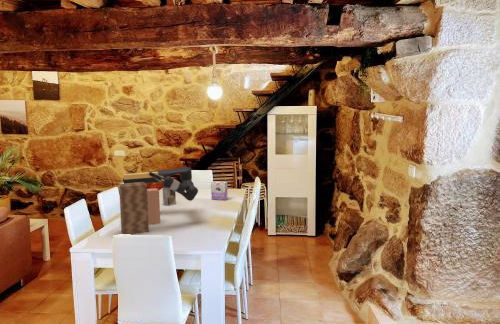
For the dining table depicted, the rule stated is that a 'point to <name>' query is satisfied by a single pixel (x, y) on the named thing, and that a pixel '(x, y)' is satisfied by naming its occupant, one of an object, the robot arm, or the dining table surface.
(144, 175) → the dowel
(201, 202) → the dining table surface
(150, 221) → the terracotta base
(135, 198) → the plinth
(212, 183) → the candy box
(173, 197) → the coffee box
